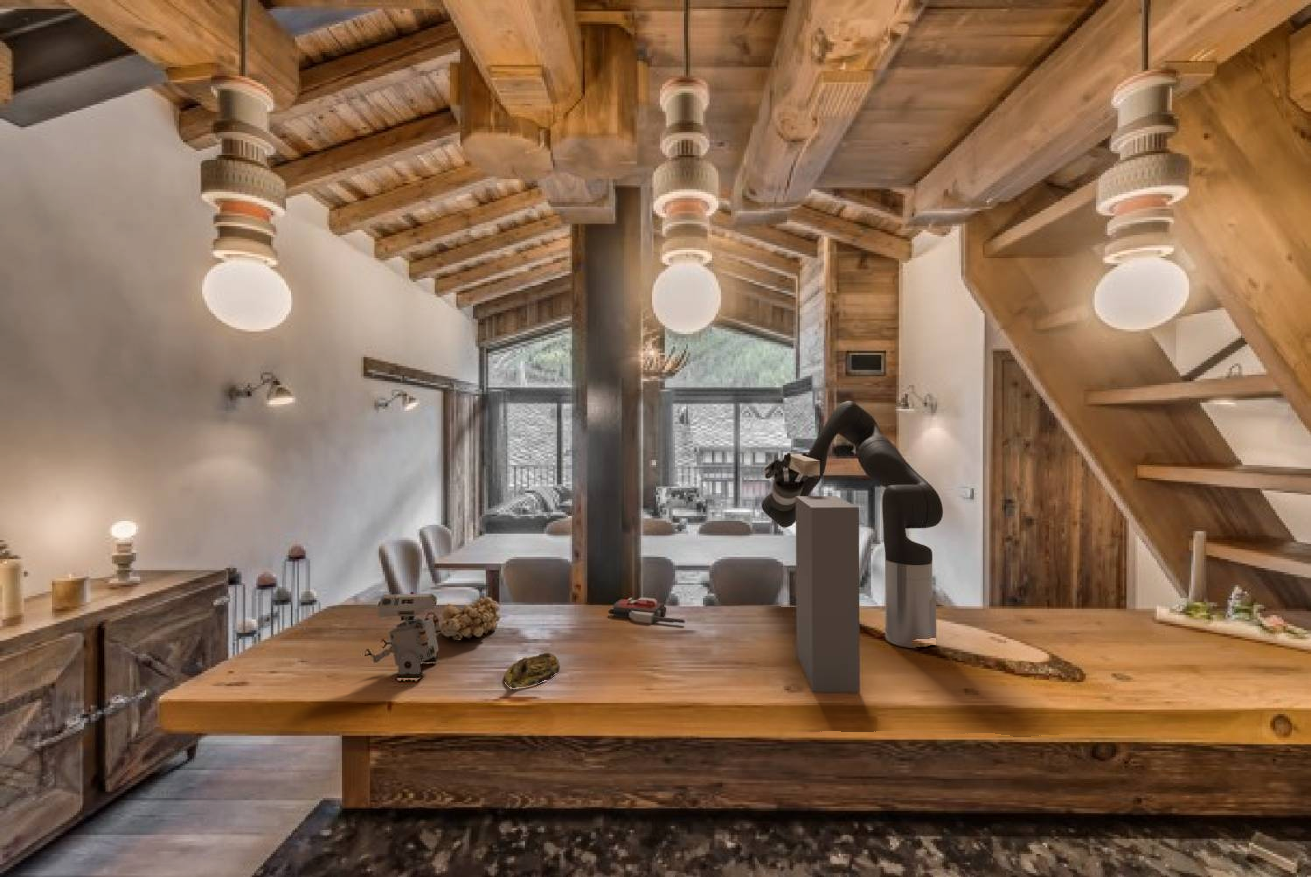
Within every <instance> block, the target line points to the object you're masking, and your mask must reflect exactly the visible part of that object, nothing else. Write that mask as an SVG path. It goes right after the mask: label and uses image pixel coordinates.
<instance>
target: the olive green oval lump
mask: <svg viewBox="0 0 1311 877" xmlns="http://www.w3.org/2000/svg"><path fill="white" fill-rule="evenodd" d="M560 668H561V665H560V662H559V660H558V658H557V657H556V656H555V655H554V654H553V653H550V652H545V653H544V652H543V653H540V654H539V655H535V656H530V657H523V658H522V659H519V660H518V661H517V662H516V663H513V664H512V665H511V666H510V667H509V668H508V669H507V670H506V671H505V672H504V676H503V681H504V680H505V682H506V684H507V685H508V686H509V687H512V688H516V687H527V686H531V685H534V684H538V683H540V682H542V681H544V680H548V679H549V678H550V677H551V676H553V675H554V674H555V673H557V672H558V673H559V672H560ZM558 673H557V674H558ZM553 677H554V676H553ZM551 678H552V677H551ZM551 678H550V679H551ZM550 679H549V680H550ZM549 680H548V681H549Z"/></svg>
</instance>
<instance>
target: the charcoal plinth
mask: <svg viewBox="0 0 1311 877" xmlns="http://www.w3.org/2000/svg"><path fill="white" fill-rule="evenodd" d="M795 575H796V576H795V577H796V578H795V583H796V584H795V587H796V588H795V590H796V591H795V594H796V595H795V598H796V601H795V602H796V603H795V604H796V605H795V606H796V607H795V608H796V609H795V610H796V611H795V612H796V614H795V615H796V657H797V660H798V662H799V664H800V667H801V669H802V671H803V673H804V676H805V677H806V680H807V683H808V682H809V683H808V685H809V687H810V688H811V692H813V693H847V692H860V691H861V689H860V688H861V685H860V684H861V680H860V677H861V676H860V674H861V671H860V670H861V668H860V665H861V664H860V661H861V658H860V654H861V653H860V645H861V644H860V642H861V641H860V640H861V638H860V635H861V634H860V507H859V506H856V505H855V504H854V503H852V502H849V501H847V500H845V499H843V498H841V497H840V496H839V497H838V496H837V495H833V496H832V495H831V496H830V495H826V496H825V495H822V496H821V495H820V496H819V495H818V496H817V495H816V496H815V495H813V496H812V495H810V496H809V495H808V496H796V521H795Z"/></svg>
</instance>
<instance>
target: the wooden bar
mask: <svg viewBox="0 0 1311 877" xmlns="http://www.w3.org/2000/svg"><path fill="white" fill-rule="evenodd" d="M788 468H790V469H792V470H794V471H796V472H798V473H801V474H803V475H820V461H819V460H816V459H812V458H809V457H805V456H802V454H791V462H790V465H789V467H788Z"/></svg>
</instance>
